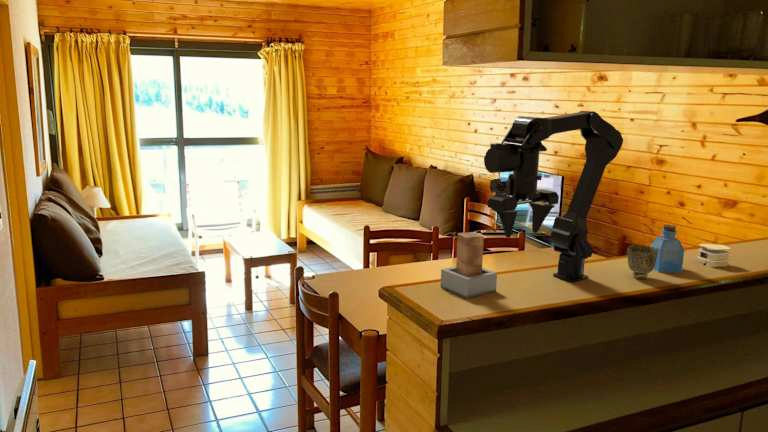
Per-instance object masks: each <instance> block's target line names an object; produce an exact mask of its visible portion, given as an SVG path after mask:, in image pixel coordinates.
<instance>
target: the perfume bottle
mask: <svg viewBox="0 0 768 432" xmlns="http://www.w3.org/2000/svg"><path fill="white" fill-rule="evenodd" d="M676 229H677V226H676V225H674V224H663V228H662V230H661V231H662V232H661V234H662V235H658V236H657V237H656V238H655V239H654V240H653V241H652V243H651V246H650V249H651V248H652V247H654V249H656V248H658V250H659V252H658V256H657V260H656V264H655V267H654V269H653V270H654V271H655V272H657V271H658V272H657V273H674V272H677V273H679V274H680V273H682V272H683V264H684V256H685V248H684V246H683V245H682V242H681V241H680V239H679V238H676V235H677V230H676Z"/></svg>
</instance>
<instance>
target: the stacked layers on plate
mask: <svg viewBox="0 0 768 432" xmlns="http://www.w3.org/2000/svg"><path fill="white" fill-rule="evenodd" d="M699 246H700V248H698V251H699V255H697V259H701V260H704V261H706V263H705V264H706V267H709V268H717V267H727V266H728V263H729V262H730V259H729V255H731V252H730V251H727V249H728V250H729V249H732V248H731V247H729V246H726V245H724V244H717V243H716V244H714V243H699Z"/></svg>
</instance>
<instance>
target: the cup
mask: <svg viewBox="0 0 768 432" xmlns="http://www.w3.org/2000/svg"><path fill="white" fill-rule="evenodd" d="M626 250H627V265H628V267H629V269H630V270H631V272H632V276H633V278H635V279H637V280H638V279H639V280H646V279H648V276H649V274H650V273H651V272H652V271H654V270H655V269H654V267H655V264H656V260H657V256H658V252H659V250H658V248H656V249H654V247H652V248H651V246H650V245H647V246H646V245H645V244H644V245H643V246H641V244H638V245H635V244H632V245H628V247H627V249H626Z"/></svg>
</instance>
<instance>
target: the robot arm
mask: <svg viewBox="0 0 768 432" xmlns="http://www.w3.org/2000/svg"><path fill="white" fill-rule="evenodd" d="M577 130H579V131H580V135H581V137H582V138H583V139H584V141H585V144H584V152H585V158H586V159H585V163H584V165H583V169H582V171H581V174H580V175H579V179H578V182H577V184H576V187H575V190H574V192H573V195H572V197H571V201H570V203H569V205H568V208H567V211H566V212H565V213H564V214H563V215H562V216H558V215H557V216H556V217H555V218H554V221H553V225H552V227H551V229H550V230H549V232H550V237H549V238H550V240H551V243H552V248H553V250H554V252H558V253H559V255H558V256H559V257H558V262H557V263H558V264H557V272H554V273H553V274H552V276H553V277H555V278H559V279H563V280H565V281H569V282H572V283H573V282H578V281H582V280H585V279H588V278H589V275H587V274H584V272H585V259H588V258H591V257H592V255H593V252H594V248H593V246H592V245H591V244H590V243H589V241H588V240H587V237H588V233H589V229H588V224H587V217H588V215H589V213H590V210H591V206H592V204H593V202H594V199H595V196H596V194H597V191H598V188H599V186H600V183H601V181H602V177H603V175H604V172H605V169H606V167H607V166H608V164H610V163H611V162H612V161H613V160H614V159H616V157H617V156H618V154H619V152H620V150H621V149H622V146H623V144H624V138H623V135H622V133H621V131H619V129H617V128H616V127H615V126H614V125H612V124H611V123H610V122H608V121H606V120H605V119H604V118H602V117H601V115H600V114H599V113H598V112H596V111H593V110H592V111H591V110H580V111H577V112H572V113H566V114H560V115H555V116H554V115H553V116H549V117H537V116H525V115H524V116H523V115H522V116H518V117H516V118H514V121H513V122H512V125H511V127H510V129H509V130H508V132H506V135H505V136H504V137H503V139H502V141H501V143H499V142H491V143H490V148H489V149H488V150H486V152H485V155H484V157H483V163H484V164H483V165H484V167H485V169H486V171H487V172H489V173H490V174H495V173H509V174H508V178H507V180H505V181H502V180H501V179H500V178H493V179H491V180H490V181H489V190H490V193H492V194H493V195H490V196H489V197H488V198H487V208H490V209H491V211H492V212H495V213H496V214H497V215H498V217H499V219H500V222H501V225H502V229H503V232H504V235H505V237H506V238H508V239H510V238H511V236H512V233H513V230H514V226H515V222H516V218H517V215H518V210H516V209H517V208H518V205H525V204H529V206H530V209H531V211H532V213H531V214H532V216H531V218H532V219H531V220H532V223H531V226H532V233H534V234H538V231H539V229H540V228H541V226H542V225H543V223H544V221H545V220H546V218H547V217H548V215H549V214H550V212H552V209H553V208H555V205H558V204H559V201H560V199H559V198H560V196H559V194H558V192H557V191H553V190H548V189H538V181H542V177H543V176H542V175H540V174H539V162H540V152H547V151H548V148H547V147H546V146H545V145H544V144H543V143H542V141H545V140H548V139H549V138H550V137H551V136H553V135H556V134H561V133H566V132H571V131H577ZM511 172H512V173H511Z"/></svg>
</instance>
